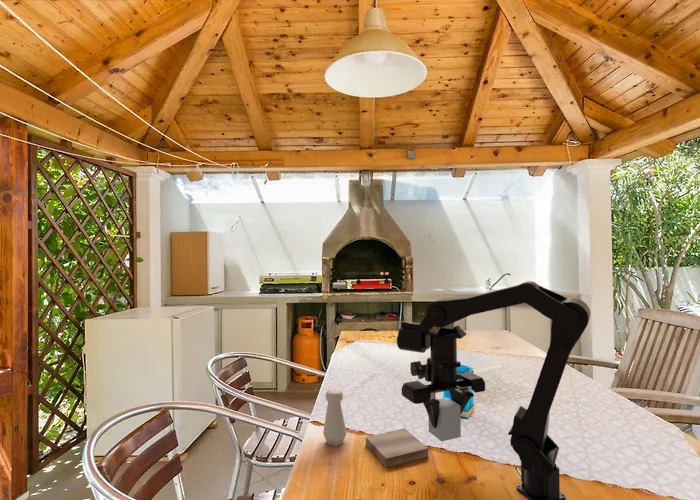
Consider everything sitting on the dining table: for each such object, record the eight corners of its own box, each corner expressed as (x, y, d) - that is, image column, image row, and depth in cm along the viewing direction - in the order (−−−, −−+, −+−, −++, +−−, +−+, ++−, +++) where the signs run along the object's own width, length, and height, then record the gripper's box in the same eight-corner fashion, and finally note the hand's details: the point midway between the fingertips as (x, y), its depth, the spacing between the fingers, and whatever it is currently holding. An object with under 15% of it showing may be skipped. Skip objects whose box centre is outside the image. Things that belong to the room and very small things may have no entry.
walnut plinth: (428, 456, 93) (428, 448, 93) (386, 467, 89) (386, 458, 89) (404, 436, 104) (404, 428, 103) (365, 444, 99) (365, 436, 99)
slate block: (460, 436, 88) (460, 405, 88) (441, 441, 86) (441, 409, 86) (447, 427, 93) (446, 397, 93) (428, 431, 91) (428, 400, 91)
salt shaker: (343, 448, 98) (342, 395, 98) (321, 446, 99) (319, 394, 99) (348, 437, 103) (347, 387, 103) (327, 435, 105) (326, 386, 104)
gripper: (455, 342, 100) (456, 404, 101) (389, 351, 93) (390, 418, 94) (486, 354, 90) (487, 423, 90) (414, 364, 83) (415, 439, 83)
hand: (444, 425), depth 90 cm, fingers closed on slate block, 5 cm apart
